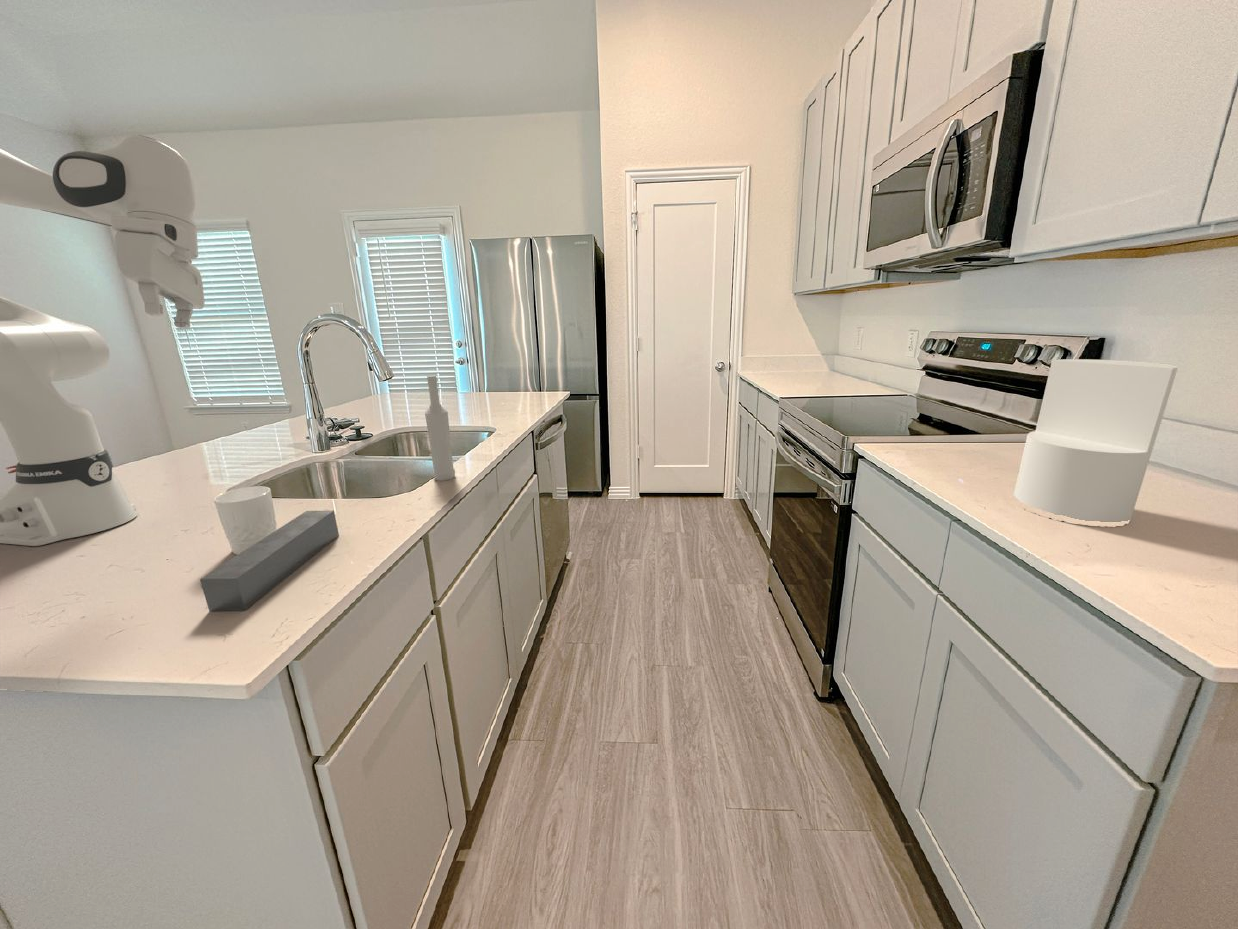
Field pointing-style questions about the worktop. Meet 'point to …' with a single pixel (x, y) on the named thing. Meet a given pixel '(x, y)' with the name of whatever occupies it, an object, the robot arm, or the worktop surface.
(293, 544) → the long dark grey beam
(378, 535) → the worktop surface
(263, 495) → the white cup
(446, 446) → the bottle
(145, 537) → the worktop surface
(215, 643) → the worktop surface
